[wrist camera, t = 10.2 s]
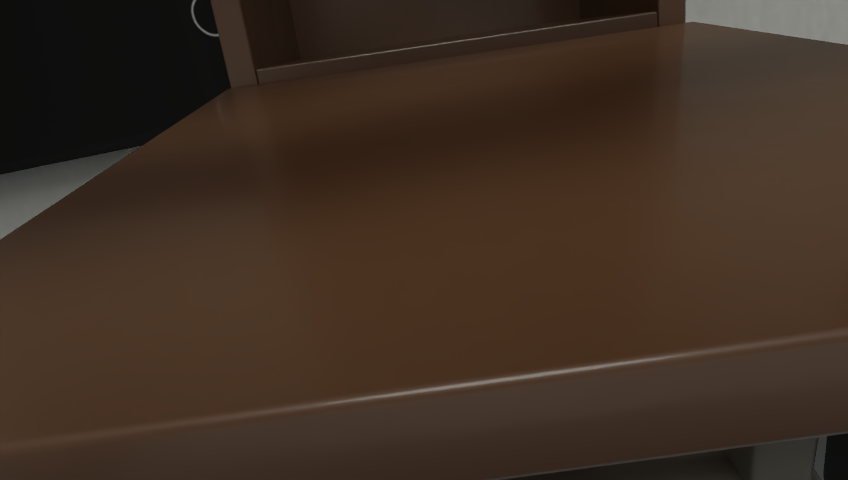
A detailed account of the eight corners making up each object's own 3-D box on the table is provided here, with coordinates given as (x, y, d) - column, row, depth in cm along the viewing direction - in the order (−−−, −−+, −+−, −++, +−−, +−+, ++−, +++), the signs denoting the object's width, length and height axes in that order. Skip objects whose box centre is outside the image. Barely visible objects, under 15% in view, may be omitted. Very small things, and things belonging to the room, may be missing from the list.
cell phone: (283, 114, 26) (279, 117, 25) (-113, 195, 27) (-131, 201, 26) (221, -115, 23) (214, -120, 22) (-221, -18, 24) (-245, -20, 23)
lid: (-411, 504, 4) (-28, 908, 6) (1870, 193, 3) (1390, 731, 5) (225, 89, 17) (269, 256, 19) (694, 20, 17) (686, 197, 19)
